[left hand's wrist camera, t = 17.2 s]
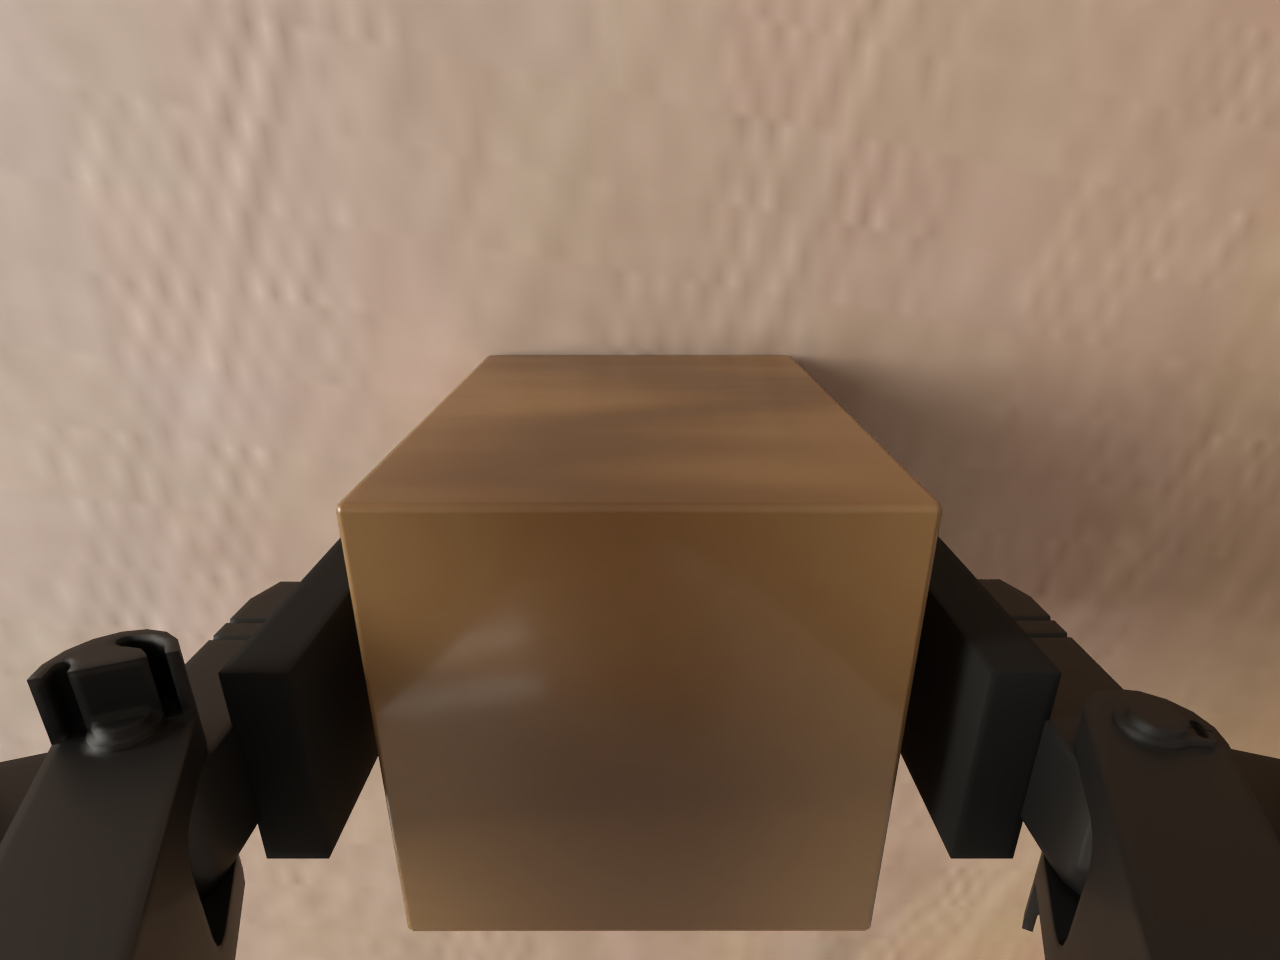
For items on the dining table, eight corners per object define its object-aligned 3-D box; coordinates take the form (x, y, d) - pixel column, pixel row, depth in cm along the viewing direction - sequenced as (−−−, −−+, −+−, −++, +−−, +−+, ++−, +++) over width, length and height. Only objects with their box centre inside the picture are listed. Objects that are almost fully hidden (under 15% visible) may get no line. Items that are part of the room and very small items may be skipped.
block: (791, 354, 14) (946, 505, 7) (770, 617, 17) (872, 933, 9) (487, 354, 14) (330, 505, 7) (507, 617, 17) (406, 933, 9)
